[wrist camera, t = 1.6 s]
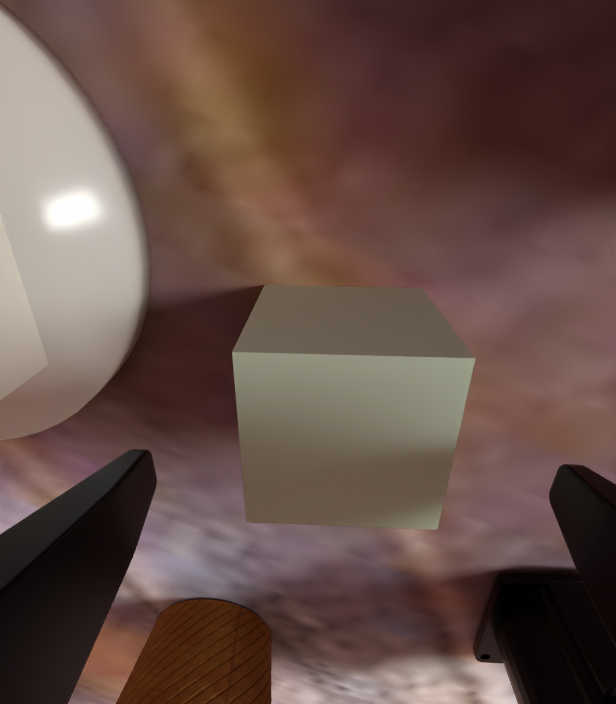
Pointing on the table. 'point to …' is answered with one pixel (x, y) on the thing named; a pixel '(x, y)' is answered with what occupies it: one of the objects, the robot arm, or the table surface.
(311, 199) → the table surface
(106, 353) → the white plate
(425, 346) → the green cube
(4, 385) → the cream block
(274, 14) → the table surface
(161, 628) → the disposable coffee cup
